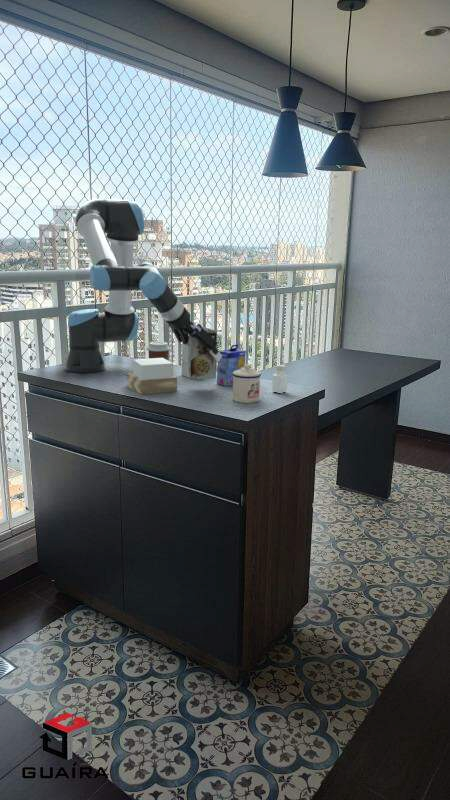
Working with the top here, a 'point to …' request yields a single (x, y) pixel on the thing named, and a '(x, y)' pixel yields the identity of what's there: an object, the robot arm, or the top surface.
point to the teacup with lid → (246, 385)
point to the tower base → (151, 384)
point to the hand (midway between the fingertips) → (208, 356)
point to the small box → (185, 360)
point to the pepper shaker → (279, 380)
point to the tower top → (152, 368)
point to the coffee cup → (158, 350)
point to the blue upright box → (229, 364)
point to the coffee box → (201, 359)
